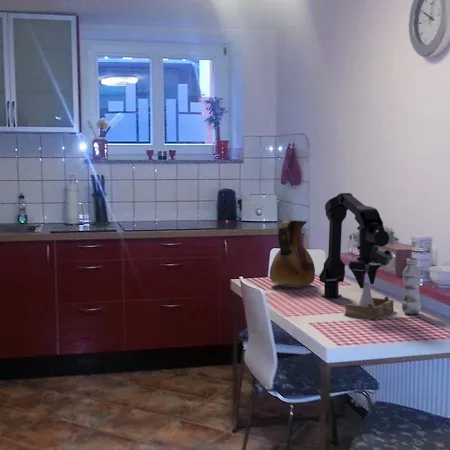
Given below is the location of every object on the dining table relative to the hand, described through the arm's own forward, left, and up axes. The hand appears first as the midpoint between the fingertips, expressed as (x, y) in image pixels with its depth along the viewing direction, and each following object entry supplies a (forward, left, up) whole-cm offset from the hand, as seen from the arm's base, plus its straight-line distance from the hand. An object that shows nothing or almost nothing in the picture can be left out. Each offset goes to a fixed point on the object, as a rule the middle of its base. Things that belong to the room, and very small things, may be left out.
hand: (367, 286), depth 228 cm
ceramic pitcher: (-28, -47, -10) cm, 56 cm away
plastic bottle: (-7, +14, -10) cm, 18 cm away
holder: (0, +1, -10) cm, 10 cm away
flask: (0, 0, -9) cm, 9 cm away
